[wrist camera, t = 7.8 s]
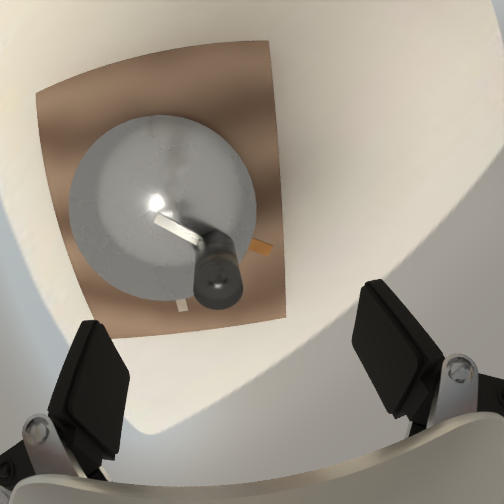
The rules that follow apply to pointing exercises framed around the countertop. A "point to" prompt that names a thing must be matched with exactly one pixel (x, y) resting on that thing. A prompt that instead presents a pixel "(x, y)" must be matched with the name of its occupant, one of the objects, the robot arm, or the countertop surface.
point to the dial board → (196, 109)
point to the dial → (164, 211)
